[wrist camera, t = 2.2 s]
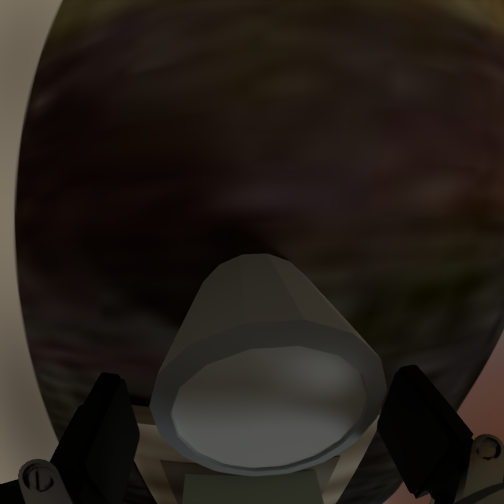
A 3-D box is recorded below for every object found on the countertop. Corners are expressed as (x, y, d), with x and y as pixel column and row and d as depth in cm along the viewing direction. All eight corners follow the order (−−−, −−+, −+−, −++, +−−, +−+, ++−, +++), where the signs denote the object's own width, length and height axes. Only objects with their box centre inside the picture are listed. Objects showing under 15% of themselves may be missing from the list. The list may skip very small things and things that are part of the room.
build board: (122, 403, 15) (115, 421, 14) (375, 399, 16) (384, 415, 15) (169, 510, 21) (168, 522, 19) (323, 506, 22) (326, 518, 20)
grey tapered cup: (306, 370, 15) (340, 475, 9) (179, 357, 15) (154, 468, 8) (342, 252, 13) (425, 329, 7) (191, 227, 13) (146, 300, 6)
